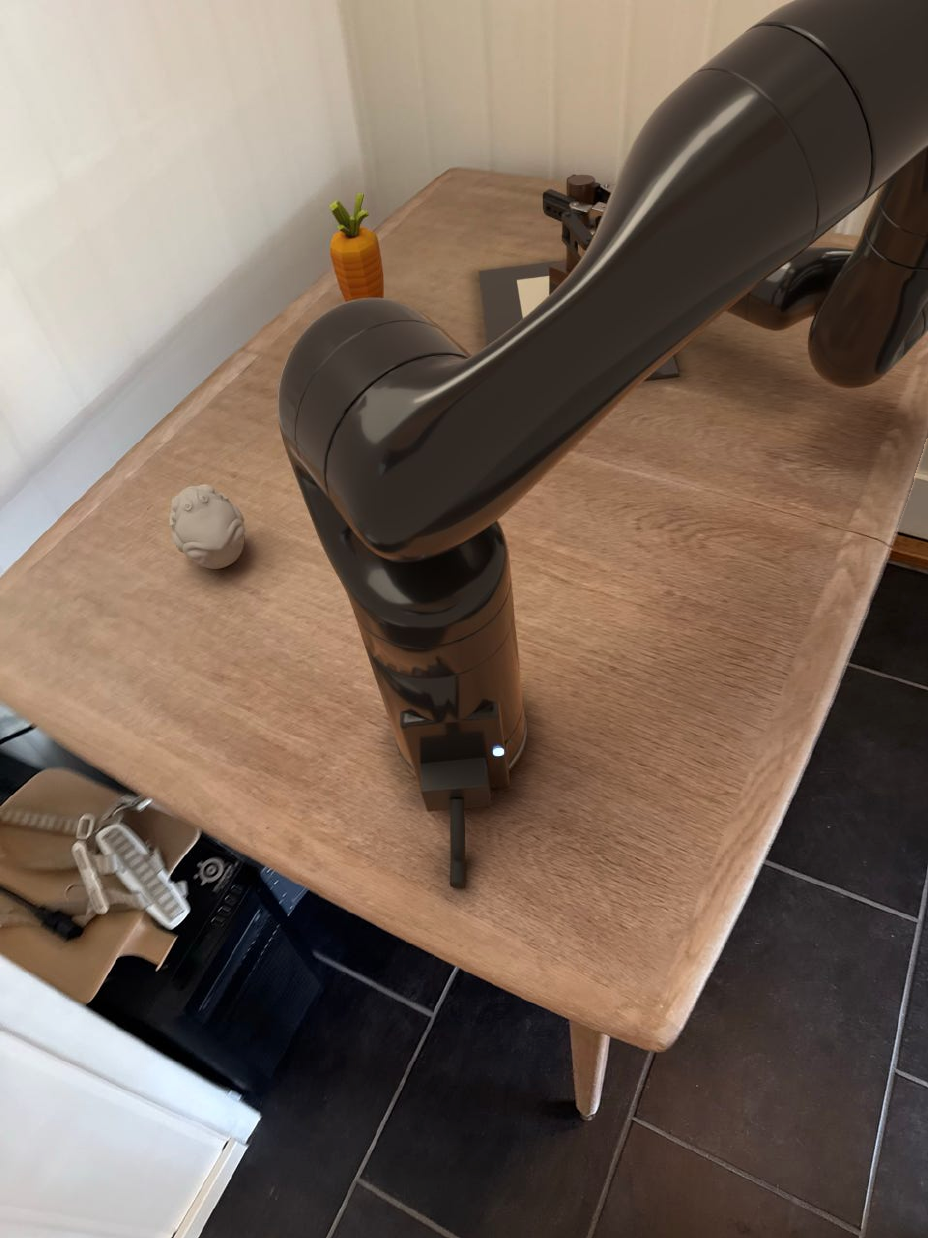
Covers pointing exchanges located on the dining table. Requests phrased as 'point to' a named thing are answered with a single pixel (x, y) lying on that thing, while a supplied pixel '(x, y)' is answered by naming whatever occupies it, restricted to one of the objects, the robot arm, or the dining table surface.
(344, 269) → the carrot
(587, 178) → the brown peg on block
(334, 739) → the dining table surface
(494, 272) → the tile
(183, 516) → the frog figurine
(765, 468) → the dining table surface
